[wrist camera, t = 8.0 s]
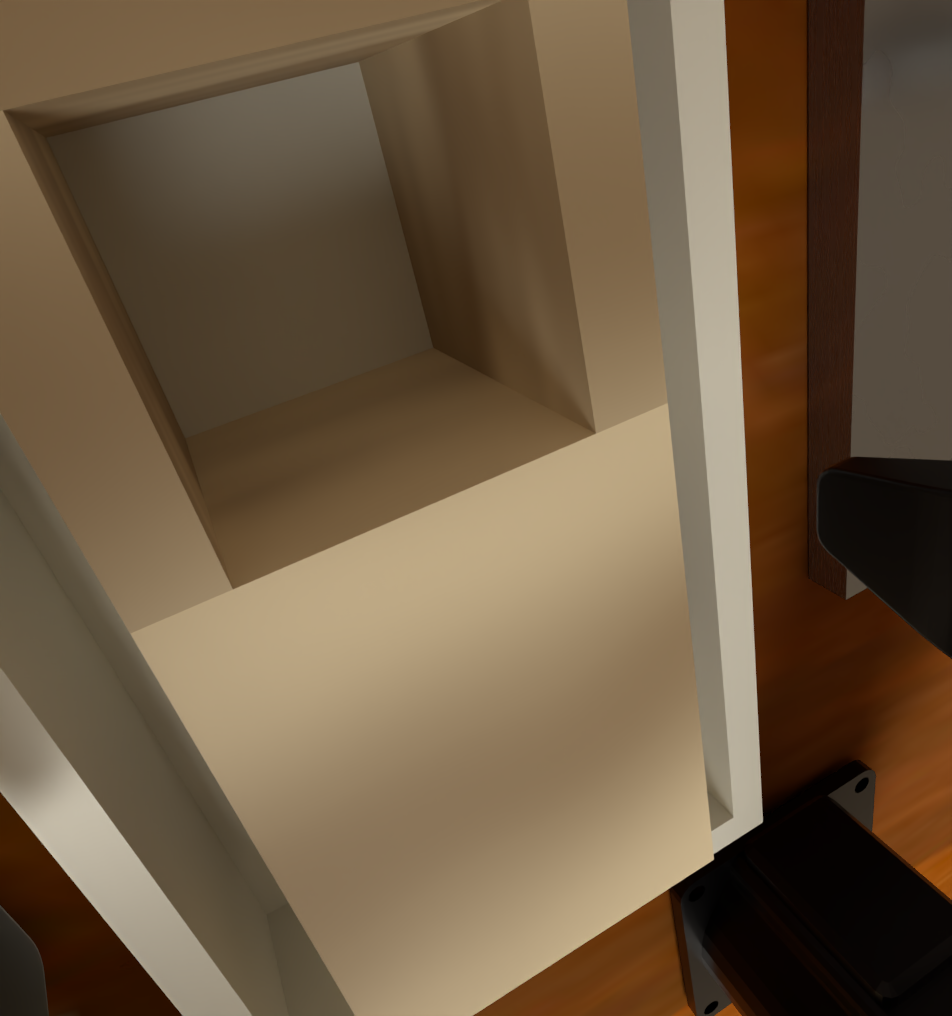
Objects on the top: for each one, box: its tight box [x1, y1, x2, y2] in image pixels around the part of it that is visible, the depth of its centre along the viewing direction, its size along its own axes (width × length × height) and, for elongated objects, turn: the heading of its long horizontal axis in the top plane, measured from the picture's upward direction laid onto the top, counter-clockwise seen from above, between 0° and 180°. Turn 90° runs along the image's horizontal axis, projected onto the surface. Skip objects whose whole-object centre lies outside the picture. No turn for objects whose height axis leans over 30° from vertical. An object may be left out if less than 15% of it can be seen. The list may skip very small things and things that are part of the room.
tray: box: [0, 0, 763, 1016], centre depth 9 cm, size 16×9×4 cm, turn 13°
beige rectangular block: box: [0, 0, 714, 1016], centre depth 8 cm, size 12×5×4 cm, turn 13°
